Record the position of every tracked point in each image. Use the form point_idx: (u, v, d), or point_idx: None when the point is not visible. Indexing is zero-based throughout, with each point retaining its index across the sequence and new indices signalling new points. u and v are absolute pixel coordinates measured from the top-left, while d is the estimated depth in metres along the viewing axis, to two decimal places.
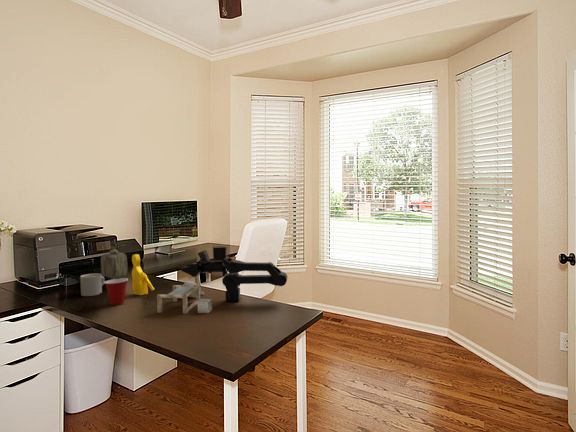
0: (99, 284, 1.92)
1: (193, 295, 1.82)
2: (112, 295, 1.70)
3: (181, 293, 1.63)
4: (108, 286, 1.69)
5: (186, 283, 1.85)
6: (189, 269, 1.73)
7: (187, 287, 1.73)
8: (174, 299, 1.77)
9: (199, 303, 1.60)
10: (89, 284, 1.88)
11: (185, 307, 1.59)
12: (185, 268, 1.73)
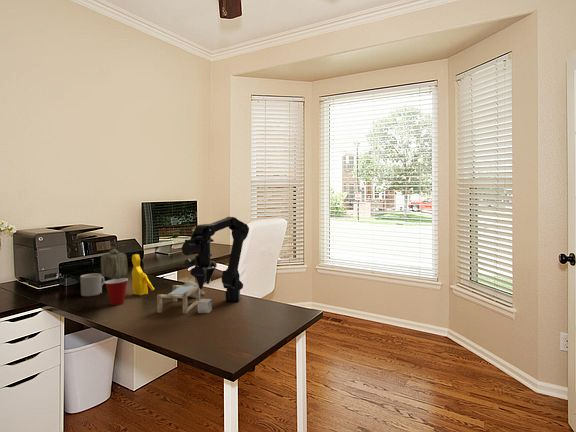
0: (99, 284, 1.92)
1: (194, 295, 1.82)
2: (112, 295, 1.70)
3: (181, 293, 1.63)
4: (108, 286, 1.69)
5: (187, 283, 1.85)
6: (199, 278, 1.56)
7: (187, 287, 1.73)
8: (174, 299, 1.77)
9: (199, 303, 1.60)
10: (89, 284, 1.88)
11: (185, 307, 1.59)
12: (198, 282, 1.56)
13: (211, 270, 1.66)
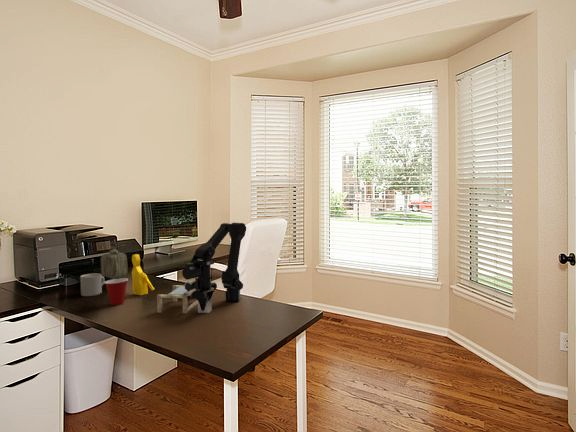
0: (99, 284, 1.92)
1: None
2: (112, 295, 1.70)
3: (181, 293, 1.63)
4: (108, 286, 1.69)
5: None
6: (201, 300, 1.58)
7: None
8: (174, 299, 1.77)
9: None
10: (89, 284, 1.88)
11: (185, 307, 1.59)
12: (200, 304, 1.58)
13: (210, 293, 1.65)
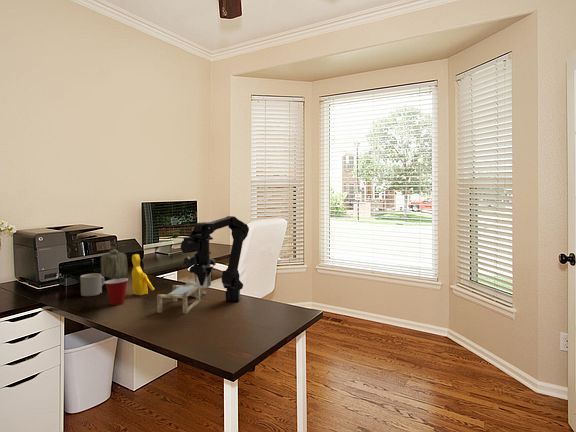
0: (99, 284, 1.92)
1: (195, 294, 1.82)
2: (112, 295, 1.70)
3: (181, 293, 1.63)
4: (108, 286, 1.69)
5: (188, 283, 1.86)
6: (200, 275, 1.58)
7: (187, 287, 1.73)
8: (174, 299, 1.77)
9: None
10: (89, 284, 1.88)
11: (185, 307, 1.59)
12: (199, 279, 1.58)
13: (209, 269, 1.64)
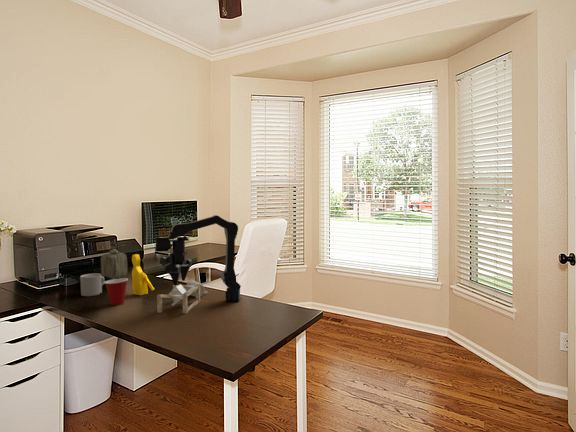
0: (99, 284, 1.92)
1: None
2: (112, 295, 1.70)
3: None
4: (108, 286, 1.69)
5: (189, 282, 1.87)
6: (174, 275, 1.62)
7: None
8: None
9: (170, 293, 1.66)
10: (89, 284, 1.88)
11: (185, 307, 1.59)
12: (173, 279, 1.62)
13: (186, 267, 1.72)
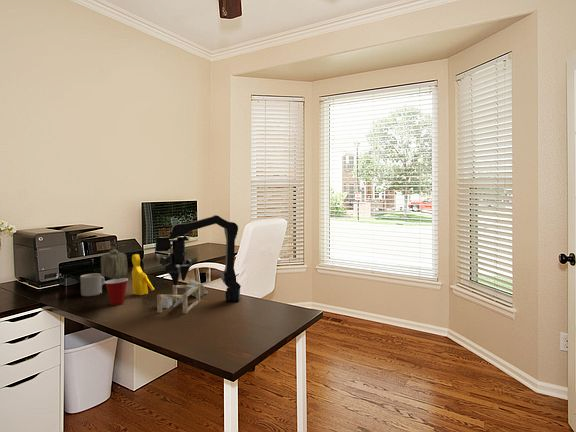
0: (99, 284, 1.92)
1: None
2: (112, 295, 1.70)
3: None
4: (108, 286, 1.69)
5: (190, 282, 1.87)
6: (174, 275, 1.62)
7: None
8: (174, 299, 1.77)
9: (166, 306, 1.67)
10: (89, 284, 1.88)
11: (185, 307, 1.59)
12: (173, 279, 1.62)
13: (186, 267, 1.72)
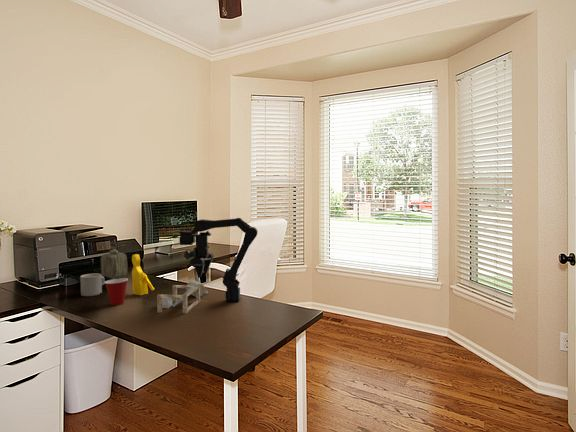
0: (99, 284, 1.92)
1: None
2: (112, 295, 1.70)
3: None
4: (108, 286, 1.69)
5: (190, 282, 1.87)
6: (198, 268, 1.71)
7: None
8: (174, 299, 1.77)
9: (166, 306, 1.67)
10: (89, 284, 1.88)
11: (185, 307, 1.59)
12: (197, 272, 1.71)
13: (208, 261, 1.81)
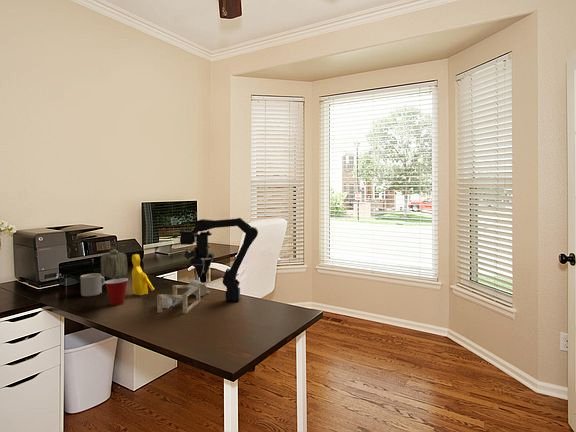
0: (99, 284, 1.92)
1: None
2: (112, 295, 1.70)
3: None
4: (108, 286, 1.69)
5: (192, 282, 1.88)
6: (198, 267, 1.71)
7: None
8: (174, 299, 1.77)
9: (166, 306, 1.67)
10: (89, 284, 1.88)
11: (185, 307, 1.59)
12: (197, 271, 1.71)
13: (209, 261, 1.81)
